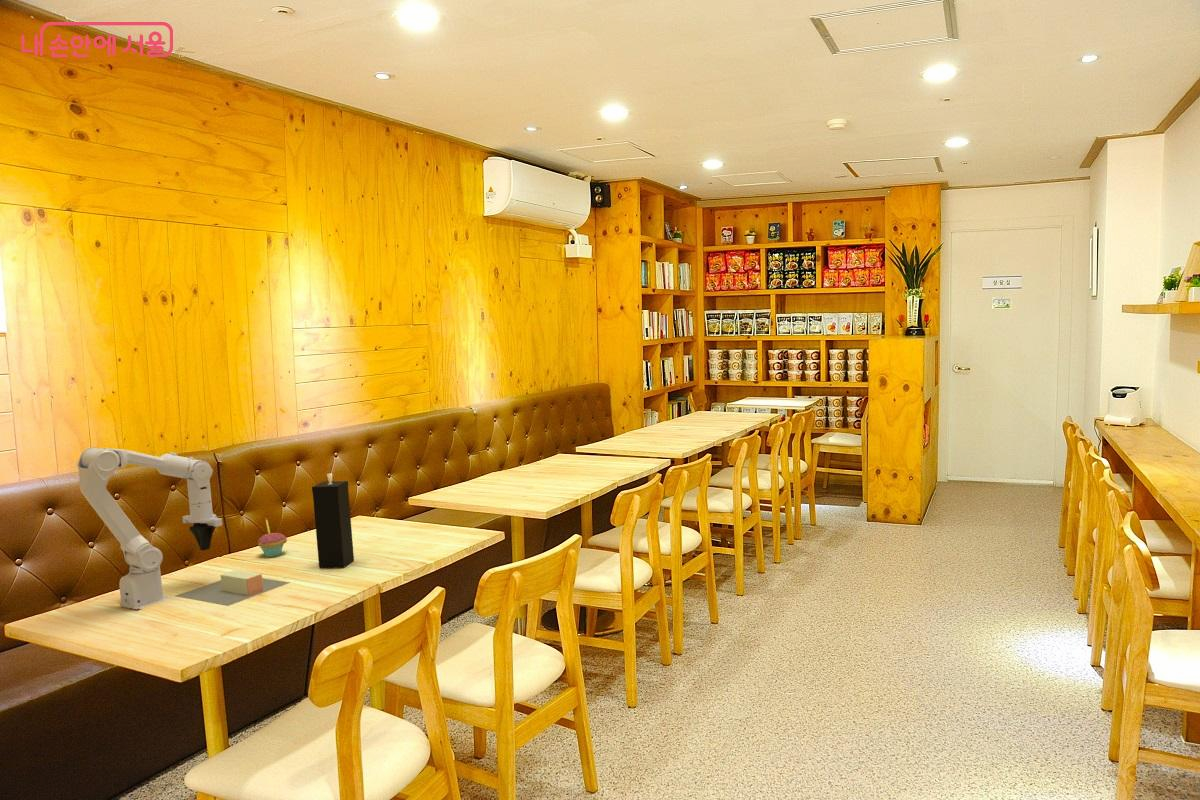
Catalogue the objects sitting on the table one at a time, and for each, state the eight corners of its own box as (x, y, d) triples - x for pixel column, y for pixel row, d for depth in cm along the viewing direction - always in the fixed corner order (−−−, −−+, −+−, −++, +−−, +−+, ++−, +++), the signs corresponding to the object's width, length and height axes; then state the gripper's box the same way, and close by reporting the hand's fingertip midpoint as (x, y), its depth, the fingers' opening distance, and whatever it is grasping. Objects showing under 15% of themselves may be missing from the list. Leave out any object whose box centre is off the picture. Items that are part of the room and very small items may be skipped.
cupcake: (253, 557, 262) (249, 520, 261) (274, 550, 269) (271, 514, 268) (272, 559, 258) (268, 522, 257) (293, 552, 265) (290, 515, 264)
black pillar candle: (354, 560, 252) (347, 470, 250) (344, 568, 245) (336, 475, 242) (329, 561, 253) (322, 471, 250) (318, 568, 245) (310, 475, 243)
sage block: (222, 590, 227) (249, 595, 221) (220, 574, 226) (247, 579, 221) (236, 585, 231) (263, 590, 225) (234, 570, 230) (261, 574, 225)
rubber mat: (228, 608, 214) (228, 605, 214) (174, 597, 225) (174, 595, 225) (290, 584, 231) (290, 582, 231) (238, 576, 242) (238, 574, 242)
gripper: (229, 500, 232) (234, 547, 234) (196, 497, 239) (201, 543, 241) (207, 506, 226) (212, 554, 227) (174, 502, 233) (178, 549, 234)
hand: (205, 549), depth 234 cm, fingers closed
